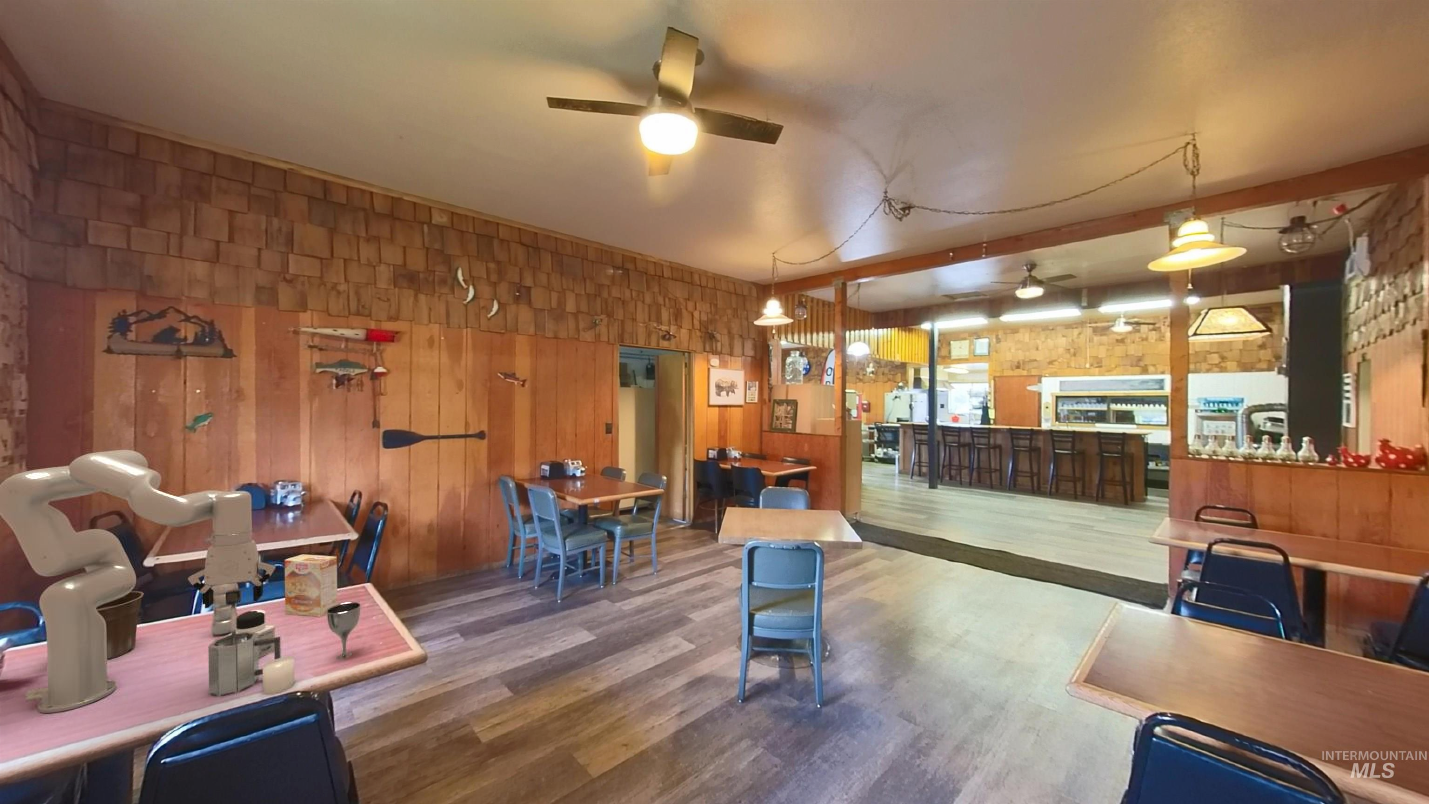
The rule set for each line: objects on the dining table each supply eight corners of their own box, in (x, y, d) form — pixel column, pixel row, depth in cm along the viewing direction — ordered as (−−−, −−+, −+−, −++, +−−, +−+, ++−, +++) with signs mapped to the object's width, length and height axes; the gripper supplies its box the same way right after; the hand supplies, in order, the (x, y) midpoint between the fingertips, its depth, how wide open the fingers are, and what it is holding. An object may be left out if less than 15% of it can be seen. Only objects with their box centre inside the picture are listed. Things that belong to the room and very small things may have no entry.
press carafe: (203, 702, 129) (202, 651, 129) (218, 683, 138) (217, 636, 138) (274, 687, 136) (274, 639, 136) (285, 670, 144) (284, 625, 144)
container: (247, 663, 148) (247, 619, 148) (226, 661, 150) (226, 617, 149) (275, 650, 156) (275, 608, 155) (255, 648, 157) (254, 606, 157)
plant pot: (77, 673, 143) (76, 616, 143) (47, 663, 148) (46, 608, 148) (156, 646, 158) (155, 594, 158) (126, 638, 164) (125, 588, 163)
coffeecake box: (284, 614, 182) (283, 559, 181) (303, 606, 189) (302, 553, 188) (320, 617, 179) (319, 562, 179) (338, 608, 186) (337, 555, 186)
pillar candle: (258, 698, 131) (258, 671, 131) (268, 685, 137) (268, 659, 137) (289, 692, 134) (289, 666, 134) (297, 680, 139) (297, 655, 139)
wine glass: (363, 657, 152) (363, 607, 151) (330, 667, 146) (330, 615, 146) (357, 648, 157) (356, 599, 157) (325, 658, 151) (324, 607, 151)
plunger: (214, 660, 132) (213, 597, 131) (223, 649, 137) (223, 589, 137) (244, 654, 134) (243, 592, 134) (252, 644, 140) (252, 585, 139)
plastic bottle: (242, 631, 168) (241, 571, 168) (214, 639, 163) (213, 577, 162) (235, 626, 172) (235, 567, 172) (208, 634, 166) (207, 573, 166)
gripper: (181, 546, 128) (182, 614, 128) (270, 538, 136) (270, 602, 136) (195, 539, 135) (196, 603, 135) (278, 531, 142) (279, 592, 143)
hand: (233, 602), depth 135 cm, fingers open, 9 cm apart
